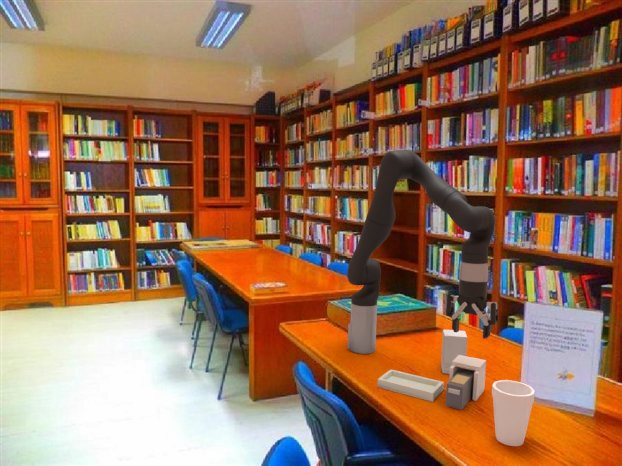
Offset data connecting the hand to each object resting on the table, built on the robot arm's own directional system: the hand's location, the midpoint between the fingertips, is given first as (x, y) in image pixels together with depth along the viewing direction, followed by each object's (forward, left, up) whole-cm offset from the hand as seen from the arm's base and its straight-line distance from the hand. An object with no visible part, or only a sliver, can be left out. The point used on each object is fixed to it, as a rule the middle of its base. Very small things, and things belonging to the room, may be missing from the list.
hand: (470, 334), depth 144 cm
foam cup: (+15, -17, -19) cm, 30 cm away
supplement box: (-10, +19, -19) cm, 29 cm away
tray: (-16, -3, -19) cm, 25 cm away
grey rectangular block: (-1, -1, -19) cm, 19 cm away
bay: (-1, +5, -19) cm, 19 cm away
